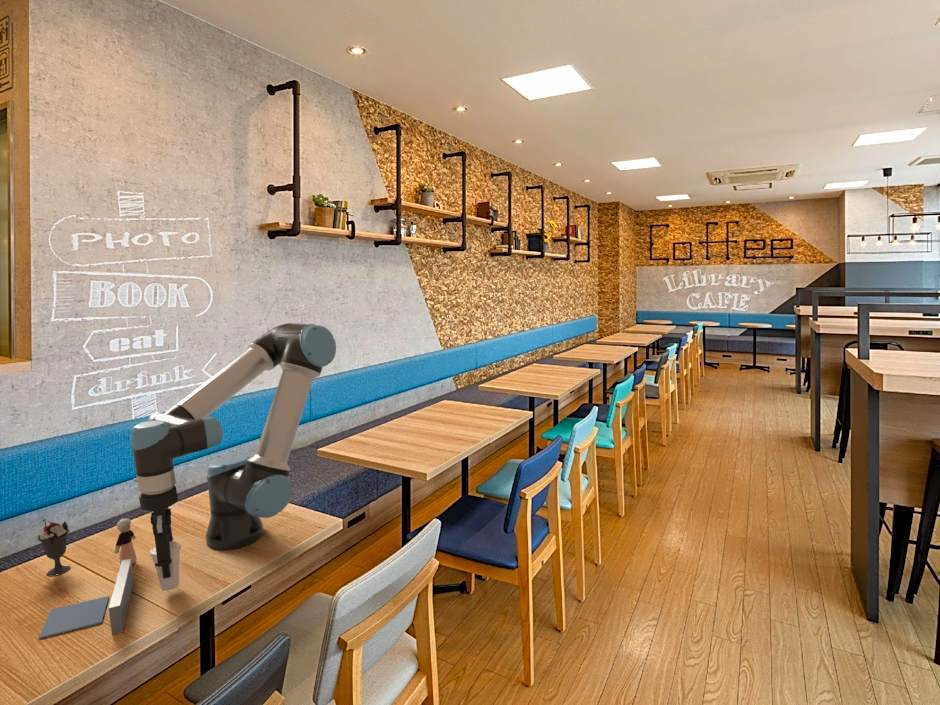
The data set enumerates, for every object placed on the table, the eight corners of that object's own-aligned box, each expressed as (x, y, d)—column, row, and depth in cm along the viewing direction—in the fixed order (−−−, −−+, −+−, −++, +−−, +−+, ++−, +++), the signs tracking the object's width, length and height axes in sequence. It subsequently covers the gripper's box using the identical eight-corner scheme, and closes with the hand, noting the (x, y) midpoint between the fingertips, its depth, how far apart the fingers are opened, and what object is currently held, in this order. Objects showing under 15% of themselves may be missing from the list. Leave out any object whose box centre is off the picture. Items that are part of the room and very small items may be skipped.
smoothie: (172, 594, 125) (164, 537, 123) (148, 592, 127) (140, 536, 125) (191, 579, 132) (184, 524, 130) (168, 577, 133) (161, 523, 131)
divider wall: (133, 581, 135) (131, 558, 134) (123, 631, 116) (119, 605, 115) (124, 583, 134) (121, 560, 133) (111, 634, 115) (108, 608, 114)
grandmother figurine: (131, 571, 140) (125, 524, 138) (114, 573, 139) (108, 526, 137) (142, 556, 147) (137, 511, 145) (126, 558, 146) (121, 513, 145)
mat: (109, 597, 128) (108, 595, 128) (101, 623, 118) (101, 621, 118) (51, 610, 123) (51, 609, 123) (38, 639, 114) (38, 637, 114)
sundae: (38, 580, 136) (30, 523, 134) (46, 567, 142) (39, 513, 140) (70, 574, 139) (63, 518, 137) (77, 562, 145) (70, 508, 143)
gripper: (142, 478, 132) (154, 566, 136) (134, 507, 115) (148, 607, 119) (177, 472, 135) (188, 558, 139) (174, 500, 118) (186, 597, 122)
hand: (169, 581), depth 129 cm, fingers closed on smoothie, 6 cm apart
